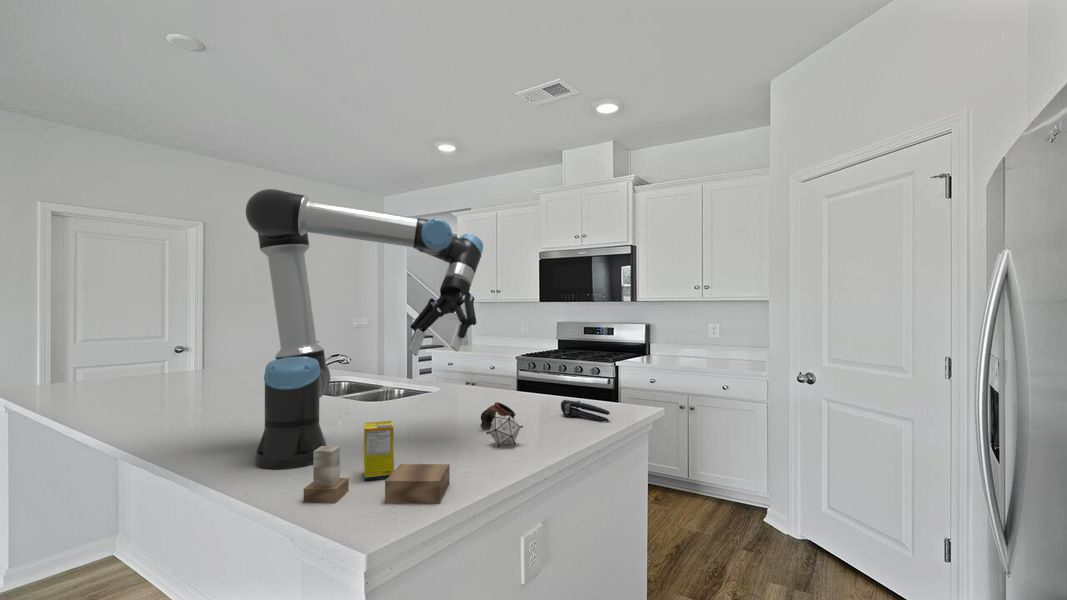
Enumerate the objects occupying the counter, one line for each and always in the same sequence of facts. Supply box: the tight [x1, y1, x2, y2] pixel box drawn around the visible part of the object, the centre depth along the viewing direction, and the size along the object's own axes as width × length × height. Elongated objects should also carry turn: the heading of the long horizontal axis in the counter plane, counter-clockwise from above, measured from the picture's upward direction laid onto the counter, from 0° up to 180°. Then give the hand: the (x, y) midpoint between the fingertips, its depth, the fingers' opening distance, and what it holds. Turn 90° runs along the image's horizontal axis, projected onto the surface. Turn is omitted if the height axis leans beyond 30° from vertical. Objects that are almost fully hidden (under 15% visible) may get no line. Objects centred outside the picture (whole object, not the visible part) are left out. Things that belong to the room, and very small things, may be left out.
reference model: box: [302, 445, 350, 504], centre depth 96 cm, size 6×6×9 cm
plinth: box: [384, 463, 451, 504], centre depth 97 cm, size 10×10×4 cm
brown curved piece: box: [480, 401, 517, 429], centre depth 150 cm, size 12×10×8 cm
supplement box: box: [363, 420, 395, 482], centre depth 108 cm, size 6×6×11 cm
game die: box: [485, 413, 524, 449], centre depth 131 cm, size 9×8×10 cm
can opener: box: [560, 399, 611, 422], centre depth 163 cm, size 18×7×6 cm, turn 52°
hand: (432, 351), depth 126 cm, fingers open, 13 cm apart
